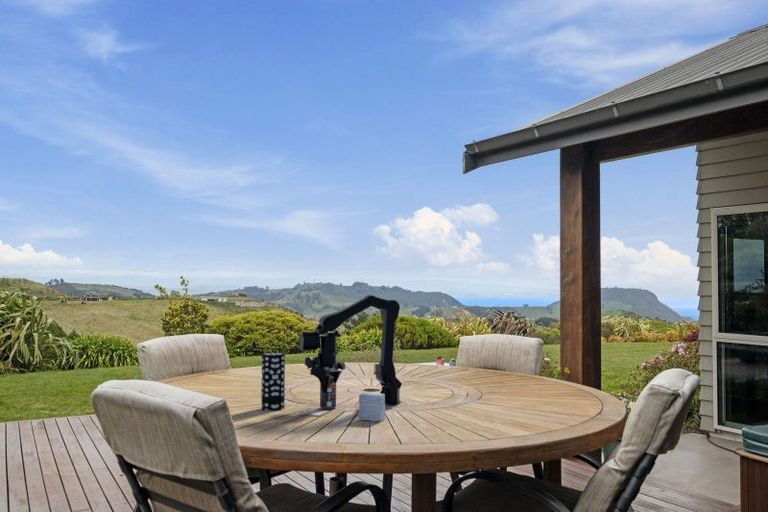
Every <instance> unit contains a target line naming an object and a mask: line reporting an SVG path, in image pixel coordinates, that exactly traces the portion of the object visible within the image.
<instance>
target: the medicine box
mask: <svg viewBox="0 0 768 512" xmlns="http://www.w3.org/2000/svg"><path fill="white" fill-rule="evenodd" d="M385 405H386V404H385V394H380V393H379V392H378V393H376V392H375V393H374V392H372V393H371V392H362V393H360V394H359V395H358V407H359V408H358V413H359V414H358V415H359V418H358V421H363V420H370V421H369V422H377V421H379V422H383V421H384V420H386V407H385Z"/></svg>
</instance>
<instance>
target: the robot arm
mask: <svg viewBox="0 0 768 512" xmlns="http://www.w3.org/2000/svg"><path fill="white" fill-rule="evenodd" d="M370 307H373V308H375V309H377V310H380V311H379V312H380V318H381V321H382V336H381V352H380V359H379V363H375V364H374V368H375V371H374V373H373V374H374V375H375V377H376V378H375V379H376V380H377V381H378V382H379V383H380V386H381V391H380V392H379V394H385V405H387V406H388V405H389V406H397V405H399V404H401V402H402V401H401V400H400V389H401V387H402V384H403V383H402V381H400V380H399V379H398V378H397V377H396V367H395V363H394V359H393V358H394V344H395V343H394V342H395V326H396V325H395V324H396V322H397V320H398V317H399V314H400V311H401V310H400V309H401V306H400V303H399V302H398V301H397V300H394V299H385V298H382V297H381V298H380V297H377V296H375V295H371V294H370V295H369V294H368V295H365V296H364V297H363V298H361V299H359V300H357V301H355V302H353V303H352V304H350V305H348V306H346V307H345V308H343V309H340V310H338V311H335V312H331V313H328V314H325V315H322V316H321V317H320V318H319V320H318V322H319V323H318V325H317V326H316V328H315V329H314V330H313V331H301V335H300V339H299V347H300V348H299V349H300V351H316V350H318V348H320V352H318V353H317V356H315V357H312V356H308V357H305V359H304V366H306V367H307V369H308V370H310V371H309V373H310V374H309V375H310V376H314V377H316V378H317V379H318V381H319V385H320V384H321V387H322V391H323V393H326V392H327V389H328V386H329V383H330V379H331V377H334V383H336V384H337V382H338V380H339V378H340V376H341V374H342V372H343V371H344V370H345V369H346V364H345V362H344V361H337V355H339V351H337V338H339V337H340V338H342V334H341V333H340V332H339V331H338V330H337V329H338V328H339V327H341V326H342V324H343V323H344V322H345V321H347V320H349V319H350V318H352V317H354V316H356V315H357V314H360V313H361V312H364V311H365V310H367V309H369V308H370Z"/></svg>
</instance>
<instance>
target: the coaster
mask: <svg viewBox="0 0 768 512" xmlns="http://www.w3.org/2000/svg"><path fill="white" fill-rule="evenodd" d="M327 412H328V413H329V412H330V411H329V410H324V409H322V410H321V409H320V410H319V409H306V410H305V411H302V412H300V413H298V416H304V415H310V416H309V417H318V416H320V417H322V416H323V414H324V415H326V414H328V413H327ZM325 413H326V414H325ZM321 415H322V416H321Z"/></svg>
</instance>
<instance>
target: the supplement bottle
mask: <svg viewBox="0 0 768 512" xmlns="http://www.w3.org/2000/svg"><path fill="white" fill-rule="evenodd" d="M319 385H320V386H319V390H320V391H319V408H321V409H322V410H332V409H336V407H337V383H334V377H331V379H330V383H329V386H328V389H327V392H326V393H323V391H322V387H321V384H320V383H319Z"/></svg>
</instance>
